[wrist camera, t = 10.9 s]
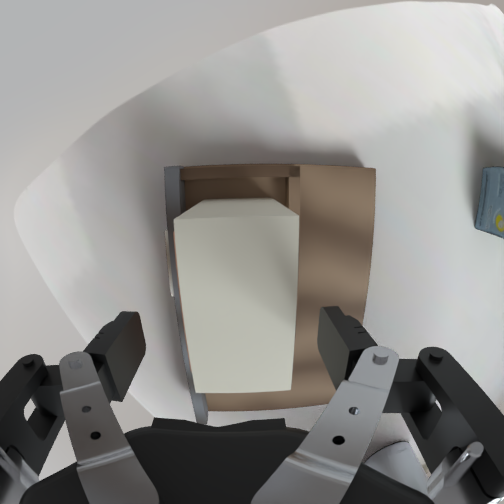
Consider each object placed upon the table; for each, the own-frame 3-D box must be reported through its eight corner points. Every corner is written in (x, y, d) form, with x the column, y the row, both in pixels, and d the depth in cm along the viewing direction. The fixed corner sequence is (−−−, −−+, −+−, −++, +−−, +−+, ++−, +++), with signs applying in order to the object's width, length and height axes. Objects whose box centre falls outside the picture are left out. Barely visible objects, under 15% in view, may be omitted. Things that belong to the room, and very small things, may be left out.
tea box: (271, 197, 21) (299, 215, 11) (271, 308, 23) (290, 389, 13) (200, 199, 21) (166, 219, 11) (207, 310, 23) (190, 392, 13)
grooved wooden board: (340, 389, 29) (350, 412, 25) (198, 398, 28) (194, 423, 24) (365, 168, 22) (387, 168, 18) (173, 168, 22) (160, 167, 18)
